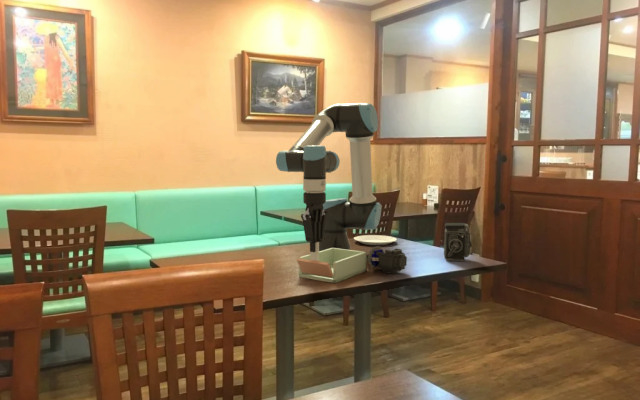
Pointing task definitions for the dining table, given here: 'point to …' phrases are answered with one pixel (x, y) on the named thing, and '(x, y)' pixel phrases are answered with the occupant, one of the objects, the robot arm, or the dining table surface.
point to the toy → (387, 259)
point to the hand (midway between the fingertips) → (314, 260)
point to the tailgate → (315, 268)
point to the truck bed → (339, 264)
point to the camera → (457, 241)
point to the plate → (375, 239)
